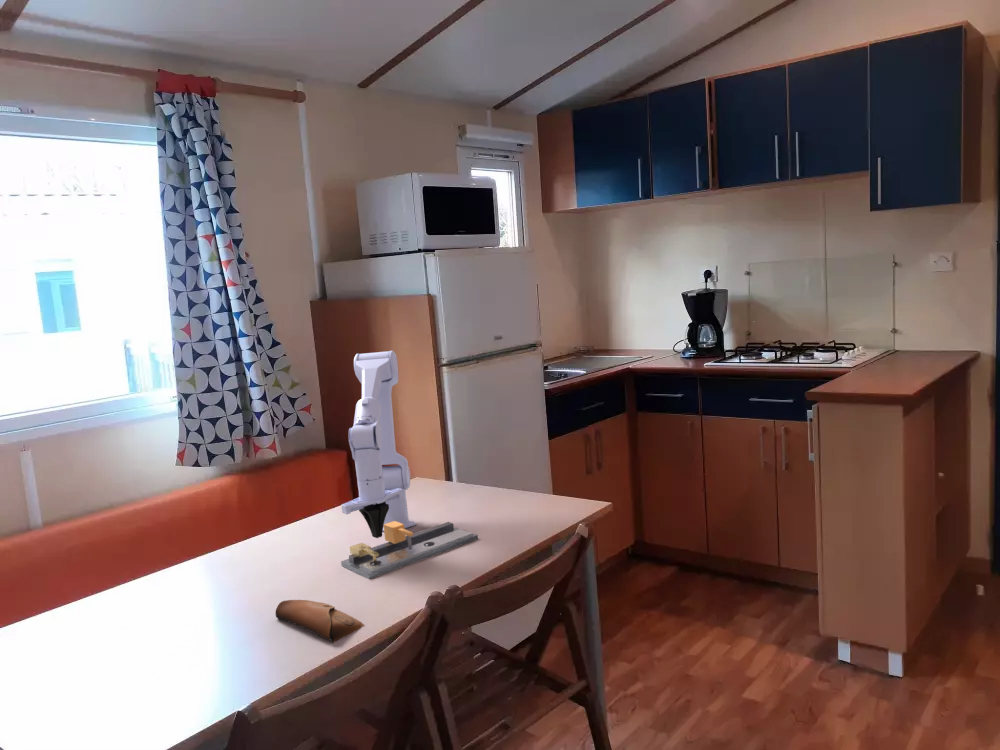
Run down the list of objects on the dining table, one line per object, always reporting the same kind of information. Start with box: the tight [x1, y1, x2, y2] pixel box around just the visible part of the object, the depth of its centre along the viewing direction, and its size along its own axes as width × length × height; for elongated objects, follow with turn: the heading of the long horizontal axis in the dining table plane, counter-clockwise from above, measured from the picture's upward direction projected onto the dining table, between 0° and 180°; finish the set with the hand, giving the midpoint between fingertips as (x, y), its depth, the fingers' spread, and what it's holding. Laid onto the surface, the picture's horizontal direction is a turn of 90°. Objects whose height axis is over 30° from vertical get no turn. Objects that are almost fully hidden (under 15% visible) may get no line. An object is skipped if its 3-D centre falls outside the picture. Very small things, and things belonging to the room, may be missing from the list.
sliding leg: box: [383, 521, 414, 549], centre depth 179 cm, size 9×3×4 cm, turn 39°
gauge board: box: [340, 521, 479, 580], centre depth 180 cm, size 12×29×4 cm, turn 129°
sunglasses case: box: [275, 599, 366, 643], centre depth 147 cm, size 18×7×7 cm
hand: (377, 536), depth 178 cm, fingers closed
